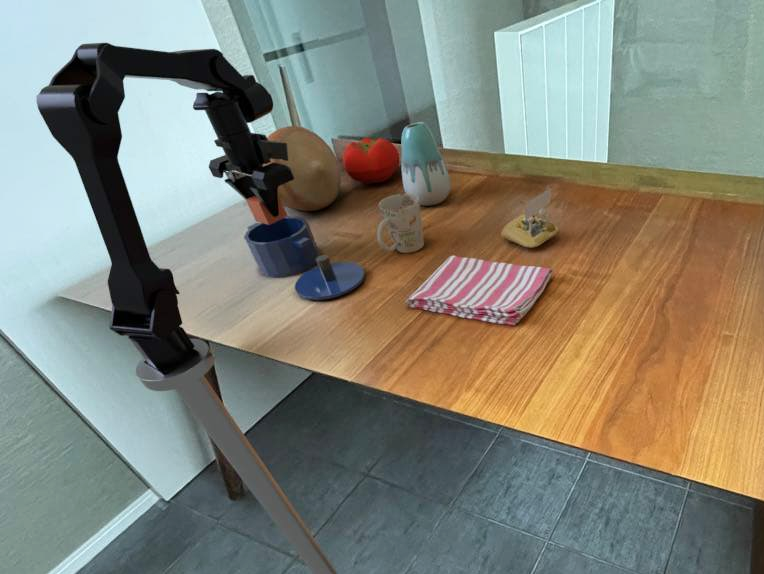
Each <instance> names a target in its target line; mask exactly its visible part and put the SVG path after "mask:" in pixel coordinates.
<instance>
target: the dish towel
mask: <svg viewBox="0 0 764 574" xmlns="http://www.w3.org/2000/svg"><path fill="white" fill-rule="evenodd" d="M553 272H554V269H553V268H551V267H543V266H534V265H532V266H531V265H518V264H517V265H516V264H513V263H506V262H498V261H489V260H484V259H479V258H475V257H462V256H456V255H454V254H452V255H450V256H449V257H448V258H447V259H446V260H445V261H444V262H443V263H442V264H441V265H440V266H439V267H438V268H437V269H436V270H434V272H433V273H432V274H431V275H430V276H429V277H428V278H427V279H426V280H425V281H424V282H423V283H422V284H421V285H420V286H419V287H418V289H416V290H415V291H414V292H413V293H412V294H410V295H409V296H408V298H407V299H406V300H405V303H406V305H407V306H409V307H410V308H412V309H418V310H419V309H420V310H424V311H427V312H428V311H429V312H433V313H440V314H446V315H450V316H454V317H458V318H462V319H469V320H476V321H482V322H485V323H492V324H498V325H509V326H513V327H514V326H516V325H517V323H519V322H520V321H521V319H523V318H524V316H526V314H527V313H528V312H529V311H530V310H531V309H532V307H533V306H534V304H535V303H536V301H537V299H538V298H539V297H540V296H541V294H542V293H543V292H544V291H545V288H546V286H547V284H548V282H549V281H550V279H551V276H552V275H553Z"/></svg>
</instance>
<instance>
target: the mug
mask: <svg viewBox="0 0 764 574" xmlns="http://www.w3.org/2000/svg"><path fill="white" fill-rule="evenodd" d="M378 209H379V211H380V214H381V216H382V219H383V220H381V221H380V223H379V224H378V228H377V241H378V244H379V246H380V248H381V249H382V250H384V251H385V252H393V251H395V250H396V251H398V252H399V253H403V254H409V253H415V252H417V251H420V250H421V249H422V248H423V247H424V245H425V239H424V231H423V221H422V213H421V205H420V203H419V198H418V197H417V196H416V195H413V194H406V193H398V194H393V195H390V196H387V197H385V198H383V199H382V200H381V201H379V203H378ZM385 228H387V230H388V233H389V235H390V237H391V239H392V242H393V244H392V245H391V246H388V245H387V244H386V242H385V240H384V236H383V235H384V229H385Z"/></svg>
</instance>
